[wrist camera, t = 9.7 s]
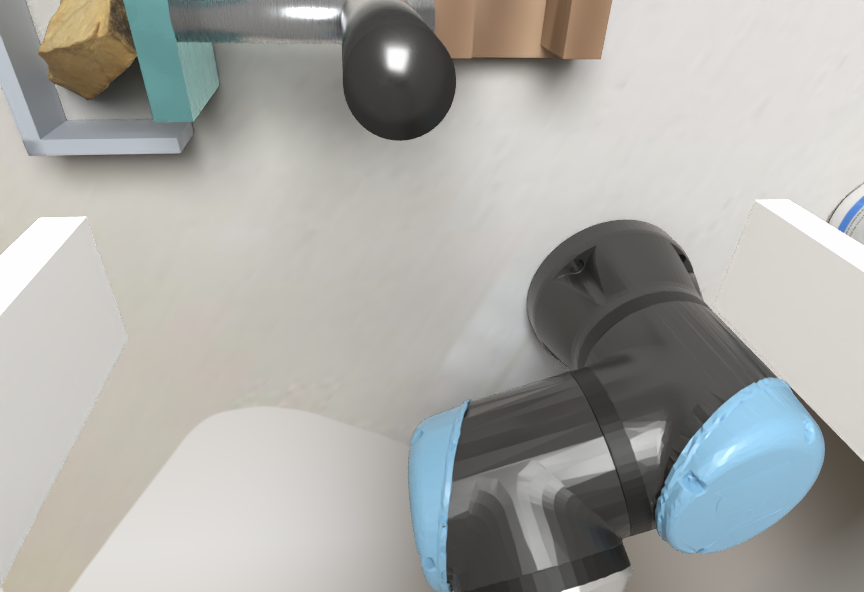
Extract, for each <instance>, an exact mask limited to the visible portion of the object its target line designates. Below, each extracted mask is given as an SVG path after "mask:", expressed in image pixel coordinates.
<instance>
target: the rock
mask: <svg viewBox="0 0 864 592" xmlns="http://www.w3.org/2000/svg"><path fill="white" fill-rule="evenodd" d="M38 55H39V56H40V57H41V58H43V59H44V60H45V61H46V63H47V65H48V69H49V71H48V79H49V80H50V81H51V82H53V83H55V84H57V85H60V86H62V87H64V88H66V89H69V90H71V91H73V92H75V93H76V94H78V95H80V96H82V97H84V98H85V99H87V100H89V99H93V98H95V97H96V96H97V95H98V94H101V93H102V92H103V91H104V90H105V89H107V88H108V86H109V85H110V83H111V82H112V81H114V80H115V79H116V78H117V77H118V76H120V75H121V74H122V73H123V72H124V71H125V70H126V69H127V68H128V67H129V66H130V65H131V64H132V63H133V61H134V59H135V58H136V57H137V52H136V48H135V45H134V41H133V37H132V33H131V29H130V25H129V21H128V17H127V13H126V9H125V5H124V1H123V0H61V2H60V7H59V8H58V10H57V12H56V13H55V14H54V16H53V17H52V18H51V20H50V21H49V24H48V27H47V31H46V34H45V37H44V41H43V43H42V44H41V45H40V47H39V50H38Z"/></svg>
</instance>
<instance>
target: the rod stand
mask: <svg viewBox="0 0 864 592" xmlns="http://www.w3.org/2000/svg"><path fill="white" fill-rule="evenodd" d="M434 3H435V32H434V34H435V35H436V36H437V37H438V38H439V40H440V41H441V42H442V43H443V45H444V46H445V47H446V49H447V51H448V52H449V54H450V56H451V58H472V57H502V58H562V59H601V55H602V50H603V45H604V40H605V35H606V29H607V24H608V19H609V14H610V9H611V4H612V0H434Z"/></svg>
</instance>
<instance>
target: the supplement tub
mask: <svg viewBox="0 0 864 592" xmlns="http://www.w3.org/2000/svg"><path fill="white" fill-rule="evenodd" d="M829 225H831V226H833V227H834V228H836V229H837V230H839V231H841V232H842V233H844V234H846V235H847V236H849V237H851V238H852V239H854V240H855V241H857V242H859V243H860V244H862V245H864V184H863V185H861V186H859V187H858V188H857V189H855V190H854V191H853V192H852V193H850V194H849V195H848V196H847V197H846V198H845V199H844V200H843V201H842V203H841V204H840V205H839V206H838V208H837V209H836V211H835V212H834V214H833V216H832V218H831V219H830V222H829Z"/></svg>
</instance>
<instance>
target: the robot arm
mask: <svg viewBox="0 0 864 592" xmlns="http://www.w3.org/2000/svg"><path fill="white" fill-rule="evenodd" d="M713 308H714V309H715V310H716V311H717V312H718V313H719V314H720V315H721V316H722V317H723V318H724V319H725V320H726V321H727V322H728V323H729V324H730V325H731V326H732V327H733V328H734V329H735V330H736V331H737V332H738V333H739V334H740V335H741V336H742V337H743V338H744V339H745V340H746V341H747V342H748V344H749V345H750V346H751V347H752V348H753V349H754V350H755V351H756V352H757V353H758V354H759V355H760V356H761V357H762V358H763V359H764V360H765V361H766V362H767V363H768V364H769V365H770V366H771V367H772V368H773V369H774V370H775V371H776V372H777V373H778V374H779V375H780V376H781V377H782V378H783V379H784V380H785V381H786V382H787V383H788V384H789V385H790V386H791V387H792V388H793V389H794V390H795V392H797V394H799V396H800V397H801V398H802V399H803V400H804V401H805V402H806V403H807V404H808V405H809V406H810V407H811V408H812V409H813V410H814V411H815V412H816V413H817V414H818V415H819V416H820V417H821V418H822V419H823V420H824V421H825V422H826V423H827V424H828V425H829V426H830V427H831V428H832V429H833V430H834V431H835V432H836V433H837V434H838V435H839V436H840V437H841V438H842V439H843V440H844V441H845V443H847V445H848V446H849V447H850V448H851V449H852V450H853V451H854V452H855V453H856V454H857V455H858V456H859V457H860V458H861V459H862V460H863V461H864V245H862V244H860V243H859V242H857V241H855V240H854V239H852V238H851V237H849V236H847V235H846V234H844V233H842V232H841V231H839V230H837V229H836V228H834V227H833V226H831V225H829V224H828V223H826V222H824V221H823V220H821V219H819V218H818V217H816V216H814V215H813V214H811V213H810V212H808V211H806V210H805V209H803V208H801V207H800V206H798V205H796V204H795V203H793V202H791V201H790V200H788V199H783V200H755V202H754V205H753V207H752V210H751V212H750V215H749V217H748V220H747V222H746V225H745V227H744V230H743V232H742V235H741V237H740V240H739V242H738V245H737V247H736V250H735V253H734V255H733V258H732V260H731V263H730V265H729V268H728V270H727V273H726V275H725V278H724V280H723V283H722V285H721V288H720V290H719V293H718V295H717V298H716V300H715V303H714V305H713ZM527 312H528V317H529V320H530V323H531V325H532V327H533V329H534V331H535V334H536V336H537V338H538V340H539V341H540V343H541V344H542V345H543V347H544V348H545V349H546V350H547V351H548V352H549V353H550V354H551V355H553V356H554V357H555V358H557V359H558V360H560V361H562V362H563V363H564V364H565V365H566V366H567V367H568V368H569V369H571V370H572V371H570V372H567V373H564V374H560V375H557V376H554V377H551V378H547V379H544V380H541V381H538V382H534V383H531V384H528V385H525V386H521V387H518V388H515V389H512V390H508V391H505V392H502V393H499V394H495V395H492V396H489V397H486V398H482V399H479V400H476V401H472V400H466V401H464V402H463V403H462V405H461V406H458V407H455V408H452V409H450V410H447V411H444V412H441V413H439V414H436V415H433V416H430V417H428V418H426V419H425V420H423V421H422V422H421V423H420V424H419V426H418V427H417V428H416V430H415V432H414V434H413V436H412V439H411V444H410V451H409V461H408V483H409V499H410V509H411V517H412V524H413V531H414V537H415V541H416V547H417V550H418V553H419V555H420V557H421V563H422V569H423V573H424V576H425V579H426V580H427V583H428V584H429V586H430V587H431V588H432V589H433V590H434V591H437V592H452V591H453V590H454V592H625V589H626V586H627V584H628V581H629V579H630V576H631V574H632V571H633V570H632V566H631V564H630V561H629V559H628V556H627V553H626V551H625V548H624V546H623V543H622V539H623V538H626V537H629V536H633V535H636V534H640V533H643V532H646V531H650V530H653V529H657V532H658V534H659V536H661V537H662V539H663V540H664V541H666V542H667V543H668V544H669V545H670V546H671V547H672V548H674V549H676V550H677V551H680V552H682V553H687V554H692V553H694V552H696V553H700V554H709V553H714V552H718V551H721V550H725V549H728V548H731V547H733V546H736V545H738V544H740V543H742V542H744V541H747V540H748V539H750V538H752V537H754V536H756V535H758V534H759V533H761V532H763V531H764V530H766V529H767V528H769V527H770V526H772V525H773V524H775V523H776V522H777V521H778V520H780V519H781V518H782V517H784V516H785V515H786V514H787V513H788V512H789V511H790V510H791V509H792V508H793V507H794V506H795V505H797V504H798V503H799V502H800V500H801V499H802V498H803V497H804V496H805V495H806V493H807V492H808V491H809V490H810V488H811V487H812V485H813V483H814V482H815V480H816V478H817V477H818V474H819V472H820V470H821V467H822V464H823V460H824V454H825V446H824V439H823V436H822V433H821V430H820V428H819V426H818V425H817V423H816V422H815V420H814V419H813V418H812V417H811V415H810V414H809V413H808V412H807V411H806V409H805V408H804V407H803V406H802V404H801V403H800V402H799V401H798V399H797V398H796V397H795V396H794V394H793V392H792V391H791V389H790V387H789V386H788V385H787V383H786V382H784V381H783V380H781V379H779V378H778V377H777V376H776V375H775V374H774V373H773V372H772V371H771V370H770V369H769V368H768V367H767V366H766V365H765V364H764V363H763V362H762V361H761V360H760V359H759V358H758V357H757V356H756V355H755V354H754V353H753V352H752V351H751V350H750V349H749V348H748V347H747V346H746V345H745V344H744V343H743V342H742V341H741V340H740V339H739V338H738V337H737V335H736V334H735V333H734V332H733V331H732V330H731V329H730V328H729V327H728V326H727V325H726V324H725V323H724V322H723V321H722V320H721V319H720V318H719V317H718V316H717V315H716V314H715V313H714V312H713V311H712V310H711V309H710V308H709V307H708V306H707V305H706V304H705V302H704V300H703V297H702V294H701V291H700V288H699V285H698V282H697V280H696V277H695V275H694V272H693V268H692V265H691V262H690V260H689V258H688V256H687V255H686V253H685V252H684V250H683V249H682V248H681V247H680V246H679V245H678V244H677V243H676V242H675V241H674V240H673V239H672V238H671V237H670V236H669V235H668V234H667V233H666V232H664V231H663V230H662V229H660V228H658V227H656V226H654V225H652V224H649V223H646V222H642V221H636V220H616V221H610V222H605V223H601V224H598V225H595V226H592V227H589V228H587V229H585V230H583V231H580V232H579V233H577V234H575V235H573V236H572V237H570V238H569V239H567V240H566V241H564V242H563V243H562V244H560V245H559V246H558V247H557V248H556V249H555V250H554V251H553V252H552V253H551V254H550V255H549V256H548V257H547V258H546V259H545V260H544V262H543V263H542V264H541V266H540V267H539V269H538V270H537V272H536V274H535V276H534V278H533V280H532V283H531V285H530V289H529V292H528V298H527ZM127 340H128V335H127V332H126V330H125V327H124V324H123V321H122V318H121V315H120V312H119V309H118V307H117V304H116V301H115V298H114V295H113V292H112V289H111V286H110V284H109V281H108V278H107V275H106V272H105V269H104V266H103V263H102V261H101V258H100V255H99V252H98V249H97V246H96V243H95V240H94V238H93V235H92V232H91V229H90V226H89V223H88V220H87V217H56V218H39V219H38V220H37V221H36V222H35V223H34V224H33V225H32V226H31V227H30V228H29V229H28V230H27V231H26V232H24V233H23V234H22V235H21V236H20V237H19V238H18V239H17V240H16V241H15V242H14V243H13V244H12V245H11V246H10V247H9V248H8V249H7V250H6V251H5V252H4V253H3V254H2V255H1V256H0V587H1V585H2V583H3V581H4V579H5V577H6V576H7V574H8V572H9V570H10V568H11V566H12V564H13V562H14V560H15V558H16V556H17V554H18V552H19V550H20V548H21V546H22V544H23V542H24V541H25V539H26V537H27V535H28V533H29V531H30V529H31V527H32V525H33V523H34V521H35V519H36V517H37V515H38V513H39V511H40V509H41V508H42V506H43V504H44V502H45V500H46V498H47V496H48V494H49V492H50V490H51V488H52V486H53V484H54V482H55V480H56V478H57V476H58V474H59V473H60V471H61V469H62V467H63V465H64V463H65V461H66V459H67V457H68V455H69V453H70V451H71V449H72V447H73V445H74V443H75V441H76V439H77V438H78V436H79V434H80V432H81V430H82V428H83V426H84V424H85V422H86V420H87V418H88V416H89V414H90V412H91V410H92V408H93V406H94V404H95V403H96V401H97V399H98V397H99V395H100V393H101V391H102V389H103V387H104V385H105V383H106V381H107V379H108V377H109V375H110V373H111V371H112V369H113V368H114V366H115V364H116V362H117V360H118V358H119V356H120V354H121V352H122V350H123V348H124V346H125V344H126V342H127Z"/></svg>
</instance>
